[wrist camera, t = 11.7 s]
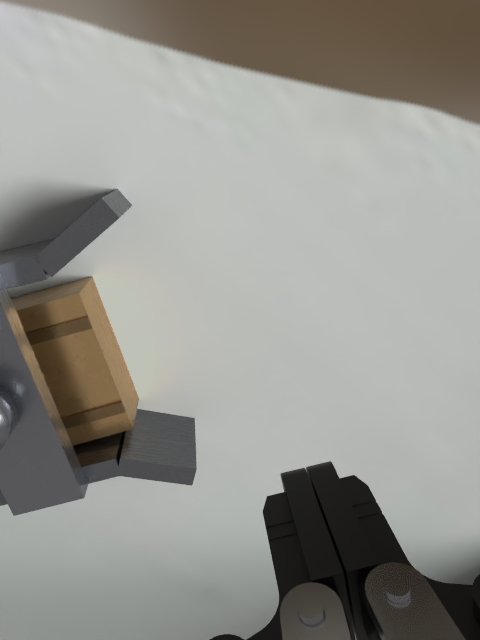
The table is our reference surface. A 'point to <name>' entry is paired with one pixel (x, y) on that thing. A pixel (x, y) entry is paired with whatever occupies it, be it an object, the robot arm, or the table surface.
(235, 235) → the table surface
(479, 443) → the table surface
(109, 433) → the block
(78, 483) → the coupler dock
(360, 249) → the table surface
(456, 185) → the table surface
